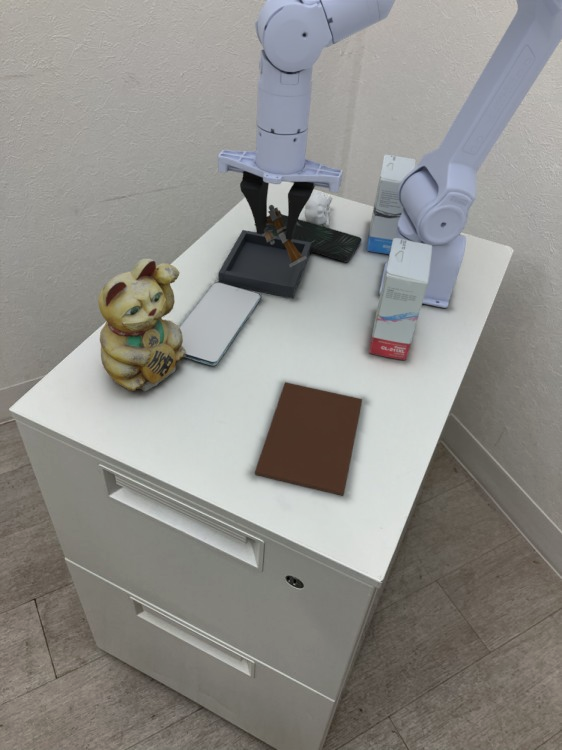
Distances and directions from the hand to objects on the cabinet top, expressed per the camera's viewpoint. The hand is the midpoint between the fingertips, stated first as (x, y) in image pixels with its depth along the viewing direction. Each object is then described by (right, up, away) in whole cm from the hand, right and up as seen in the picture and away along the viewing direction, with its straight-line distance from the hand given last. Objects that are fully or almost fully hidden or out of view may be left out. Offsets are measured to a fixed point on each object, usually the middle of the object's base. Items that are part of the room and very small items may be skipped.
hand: (275, 232), depth 73 cm
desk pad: (+4, -25, -12) cm, 27 cm away
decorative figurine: (-15, -18, -6) cm, 24 cm away
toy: (+9, +8, +19) cm, 23 cm away
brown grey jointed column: (0, -2, +2) cm, 3 cm away
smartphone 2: (+5, +3, +16) cm, 17 cm away
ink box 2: (+15, -13, +1) cm, 20 cm away
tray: (-1, -3, +10) cm, 10 cm away
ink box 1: (+17, +3, +17) cm, 24 cm away
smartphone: (-8, -12, 0) cm, 14 cm away
